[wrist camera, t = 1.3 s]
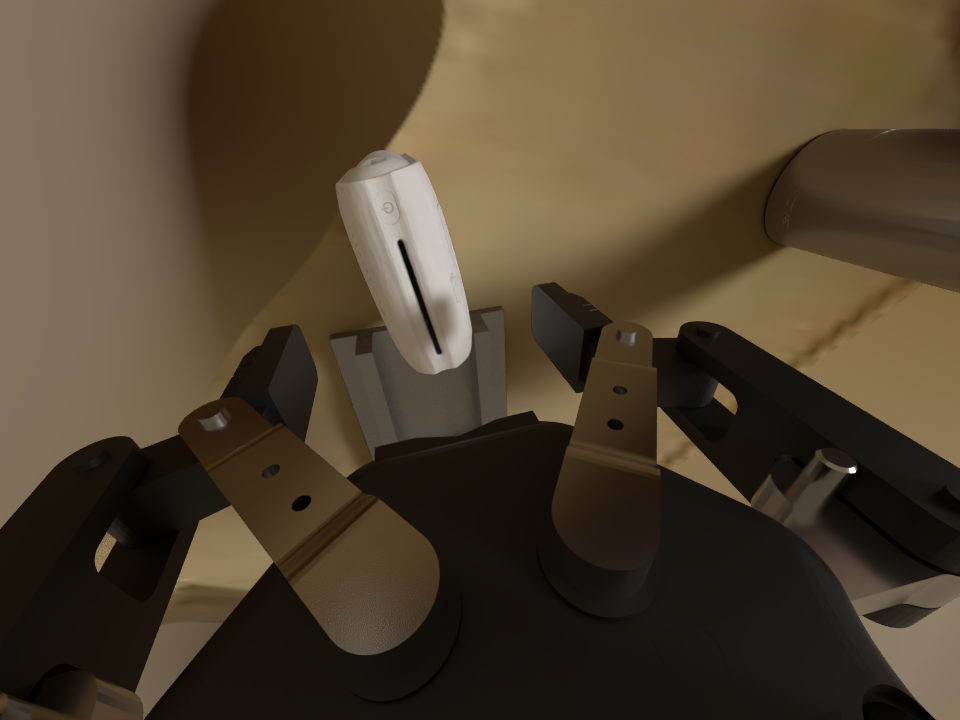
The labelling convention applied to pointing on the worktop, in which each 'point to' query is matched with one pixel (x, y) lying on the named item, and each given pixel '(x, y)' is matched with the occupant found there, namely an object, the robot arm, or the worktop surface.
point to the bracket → (423, 384)
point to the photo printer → (407, 259)
